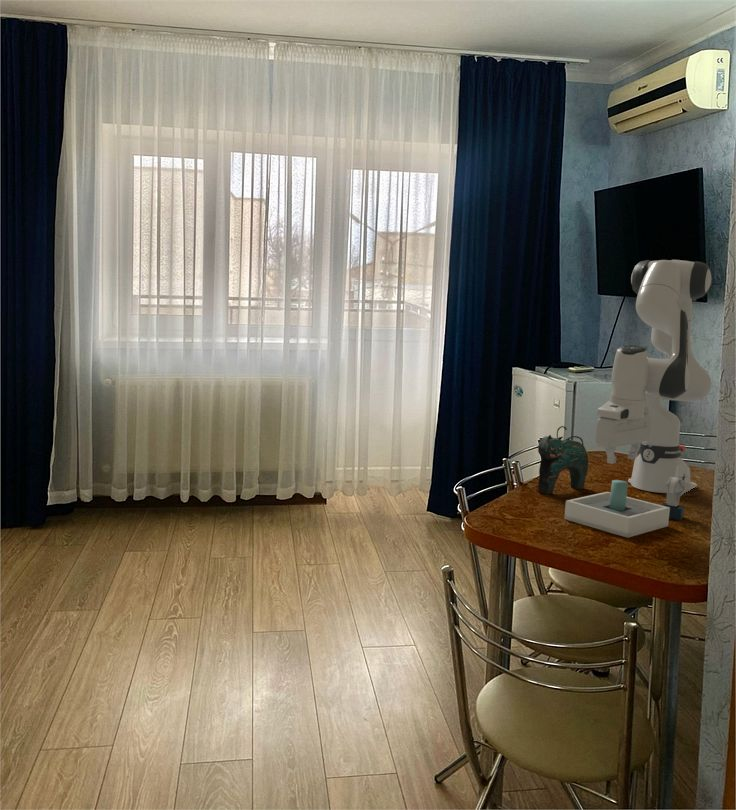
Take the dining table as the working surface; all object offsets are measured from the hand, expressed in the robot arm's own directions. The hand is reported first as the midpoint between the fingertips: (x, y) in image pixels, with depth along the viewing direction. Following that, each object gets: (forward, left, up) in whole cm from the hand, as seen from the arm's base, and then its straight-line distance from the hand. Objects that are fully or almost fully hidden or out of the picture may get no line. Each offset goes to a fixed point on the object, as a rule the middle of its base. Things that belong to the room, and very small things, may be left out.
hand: (621, 461), depth 219 cm
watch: (-19, +5, -17) cm, 26 cm away
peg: (0, 0, -16) cm, 16 cm away
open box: (0, 0, -17) cm, 17 cm away
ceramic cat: (-16, -30, -17) cm, 38 cm away
